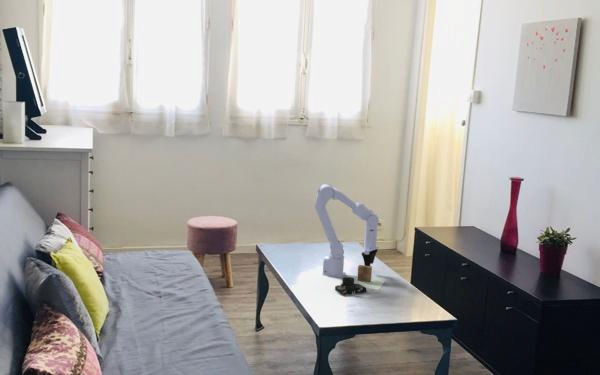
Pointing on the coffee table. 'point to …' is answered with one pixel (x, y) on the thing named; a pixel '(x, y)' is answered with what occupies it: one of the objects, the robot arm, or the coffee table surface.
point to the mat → (369, 283)
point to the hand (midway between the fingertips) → (369, 265)
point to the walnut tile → (364, 273)
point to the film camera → (349, 287)
